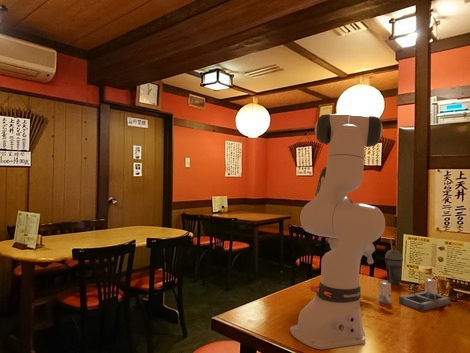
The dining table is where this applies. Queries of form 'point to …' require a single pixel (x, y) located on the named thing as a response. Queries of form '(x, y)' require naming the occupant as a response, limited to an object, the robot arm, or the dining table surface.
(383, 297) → the billet
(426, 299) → the grey divided tray
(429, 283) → the billet
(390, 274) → the beverage cup
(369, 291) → the dining table surface
